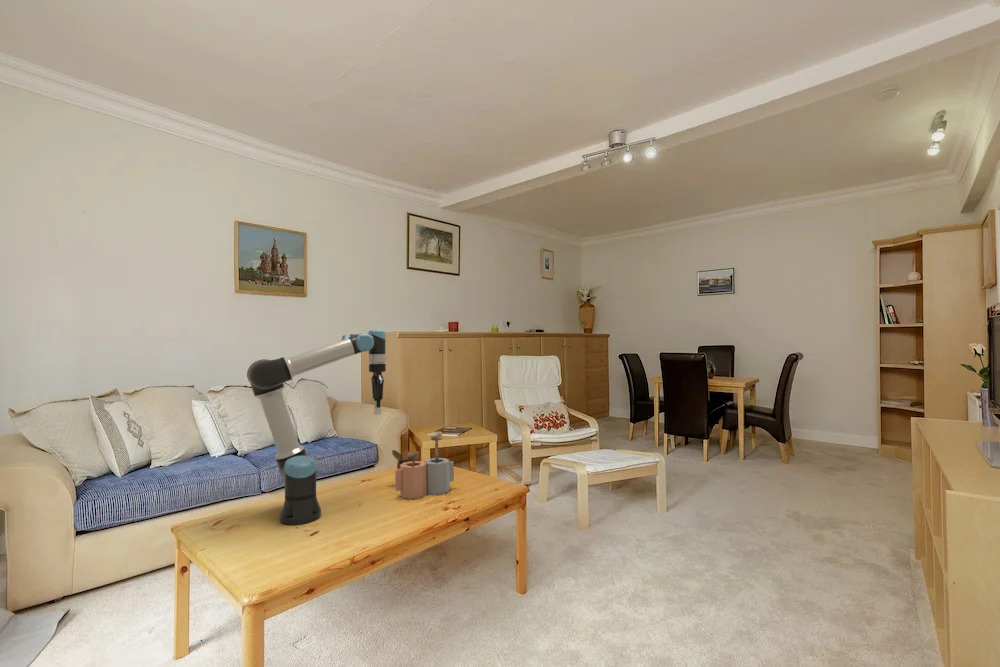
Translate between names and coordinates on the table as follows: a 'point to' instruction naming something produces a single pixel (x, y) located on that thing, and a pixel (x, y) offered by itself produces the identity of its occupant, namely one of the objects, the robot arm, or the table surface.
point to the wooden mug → (399, 458)
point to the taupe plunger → (413, 456)
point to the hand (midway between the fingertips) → (377, 414)
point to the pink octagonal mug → (411, 480)
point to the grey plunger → (436, 442)
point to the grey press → (439, 475)
